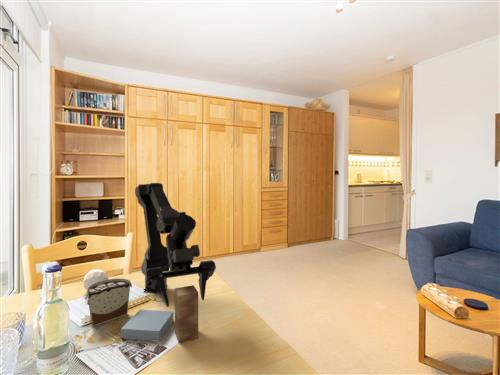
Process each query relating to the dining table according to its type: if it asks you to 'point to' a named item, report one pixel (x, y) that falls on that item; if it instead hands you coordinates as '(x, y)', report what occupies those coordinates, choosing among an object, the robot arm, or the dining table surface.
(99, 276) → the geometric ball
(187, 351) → the dining table surface
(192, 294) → the walnut block
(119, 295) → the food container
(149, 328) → the slate-blue block
